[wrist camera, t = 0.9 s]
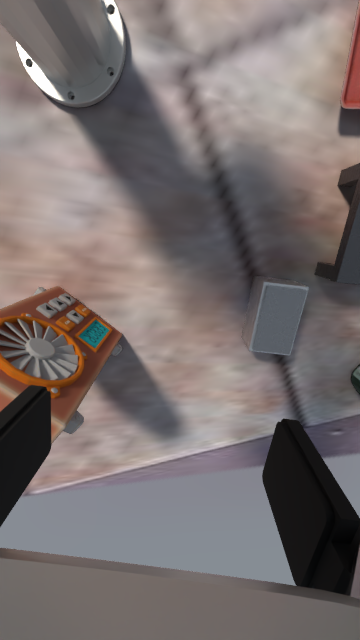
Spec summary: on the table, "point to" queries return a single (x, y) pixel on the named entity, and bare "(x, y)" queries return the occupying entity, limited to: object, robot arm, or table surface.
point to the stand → (347, 237)
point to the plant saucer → (352, 70)
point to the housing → (273, 315)
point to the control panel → (53, 352)
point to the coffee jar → (356, 378)
